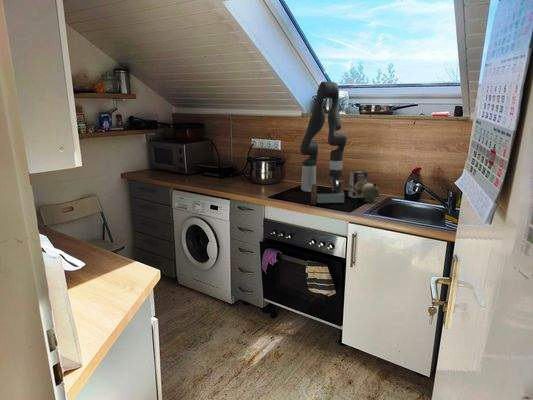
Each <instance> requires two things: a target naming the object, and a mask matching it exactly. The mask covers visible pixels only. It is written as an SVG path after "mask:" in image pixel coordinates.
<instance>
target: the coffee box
mask: <svg viewBox="0 0 533 400" xmlns="http://www.w3.org/2000/svg"><path fill="white" fill-rule="evenodd" d="M367 181H368V172H367V171H363V170H359V171H358V170H356V171H355V170H354V171H351V170H350V171H349V183H348V185H349V186H348V195H347V196H348V197H350V198H352V199H360V198H361V199H362V198H365V197H364V196H363V194H362V187H363V186H364V185H365V182H366V183H368V182H367Z"/></svg>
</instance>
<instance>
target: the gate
mask: <svg viewBox="0 0 533 400" xmlns="http://www.w3.org/2000/svg"><path fill="white" fill-rule="evenodd" d="M318 203H319V204H325V203H326V204H327V203H328V204H331V203H332V204H333V203H334V204H336V203H345V192H344V193H341V194H338V193H336V194H332V193H316V204H318Z"/></svg>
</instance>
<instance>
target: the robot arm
mask: <svg viewBox="0 0 533 400" xmlns="http://www.w3.org/2000/svg"><path fill="white" fill-rule="evenodd" d="M317 88H318V89H317V92H316V97H315V102H314V105H313V109H312V111H311V115H310V118H309V122H308V124H307V128H306V131H305V134H304V136H303V138H302V141H301V144H300V148H299V149H300V151H299V152H300V154H301V155H302V156H309V157H307V158H306V159H304V160H302V162H301V163H302V167H301V171H302V173H301V177H300V178H301V179H300V182H301V183H300V190H301V191H303V192H309V193H311V186H312V184H317V182H316V178H317V162H318V156H319V155H318V154H319V144H318V142H317V141H316V140H313V138H315V136H316V135H317V134H319V133H320V131H322V129H323V127H324V124H325V122H326V117H327V123H328V125H327V126H328V136H327V143H328V145H329V146H332V147H337V148H336V149H332V150H331V151H330V153H329V154H330V155H329V167H328V176H329V177H331V179H330V188H331V191H332V192H331V194H338V188H339V185H340V184H338V183H339V181H340V180H339V178H341V177H343V157H344V156H343V154H344V151H345V147H346V145H347V140H348V138H347V135H346V133H341V132H340V133H335V132H338V131H340V130H341V129H342V121H341V117H340V90H339V85H338V83H337V82H335V81H321V82H320V83H319V85H318V87H317ZM325 99H331V107H330V108H329V111H328V113H327V116H326V113H325V109H324V107H323V103H324V100H325Z"/></svg>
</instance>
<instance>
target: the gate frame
mask: <svg viewBox="0 0 533 400" xmlns="http://www.w3.org/2000/svg"><path fill="white" fill-rule="evenodd" d="M338 184H340V185H339V188H338V191H337V194H341V193H344V194H345V192H344V191H345V181H344V180H339V183H338ZM317 185H318V184H317V183H316V184H312V186H311V192H310V205H312V206H315V205H316V206H317V187H318V186H317Z"/></svg>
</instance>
